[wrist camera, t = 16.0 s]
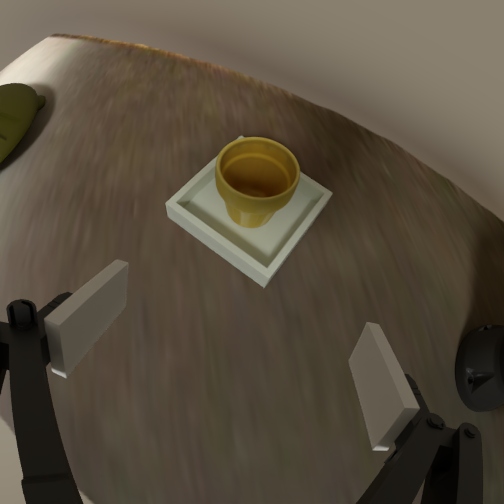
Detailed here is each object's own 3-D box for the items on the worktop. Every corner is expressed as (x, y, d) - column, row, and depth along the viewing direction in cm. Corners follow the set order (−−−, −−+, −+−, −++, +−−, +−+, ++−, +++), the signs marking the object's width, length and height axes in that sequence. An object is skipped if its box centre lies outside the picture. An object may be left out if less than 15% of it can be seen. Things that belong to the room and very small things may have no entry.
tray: (325, 205, 49) (332, 193, 46) (264, 287, 42) (269, 279, 39) (239, 149, 51) (241, 135, 48) (167, 216, 44) (165, 203, 41)
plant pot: (222, 173, 48) (227, 128, 39) (288, 188, 48) (304, 146, 40) (205, 230, 44) (205, 189, 35) (278, 247, 44) (296, 210, 35)
